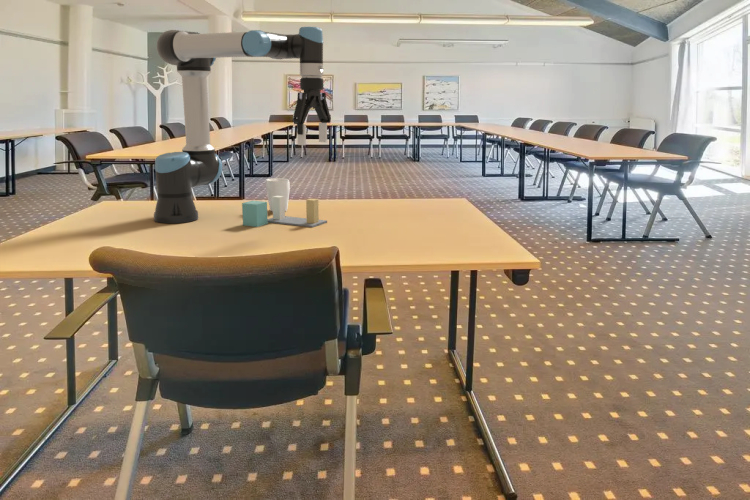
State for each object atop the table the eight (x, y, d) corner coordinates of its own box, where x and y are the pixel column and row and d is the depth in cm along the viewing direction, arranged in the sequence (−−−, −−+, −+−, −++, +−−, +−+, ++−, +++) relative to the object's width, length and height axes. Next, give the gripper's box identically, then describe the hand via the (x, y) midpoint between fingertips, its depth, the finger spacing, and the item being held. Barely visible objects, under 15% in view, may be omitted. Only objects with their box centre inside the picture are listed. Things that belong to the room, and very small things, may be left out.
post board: (263, 221, 222) (263, 197, 220) (279, 217, 231) (279, 193, 229) (312, 227, 214) (312, 202, 212) (327, 222, 223) (327, 198, 221)
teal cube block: (243, 225, 217) (242, 203, 215) (253, 222, 222) (252, 200, 220) (257, 226, 214) (256, 204, 212) (267, 223, 219) (266, 201, 218)
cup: (285, 213, 239) (285, 181, 236) (263, 212, 241) (262, 180, 238) (293, 209, 248) (292, 178, 245) (271, 208, 249) (270, 177, 246)
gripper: (300, 76, 192) (302, 146, 197) (340, 78, 214) (340, 141, 219) (280, 76, 195) (282, 145, 200) (321, 78, 217) (322, 140, 222)
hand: (312, 143), depth 210 cm, fingers open, 13 cm apart
